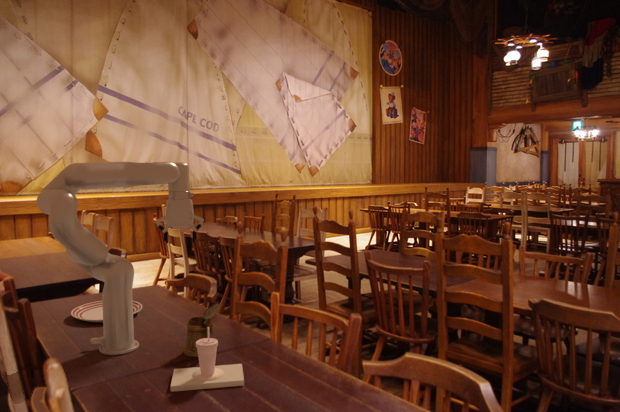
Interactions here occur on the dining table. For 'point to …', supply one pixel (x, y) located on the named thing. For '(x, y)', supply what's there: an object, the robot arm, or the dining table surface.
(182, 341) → the dining table surface
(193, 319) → the wooden mug
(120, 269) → the robot arm
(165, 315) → the dining table surface
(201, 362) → the smoothie
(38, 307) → the dining table surface
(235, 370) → the serving board
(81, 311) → the dinner plate
